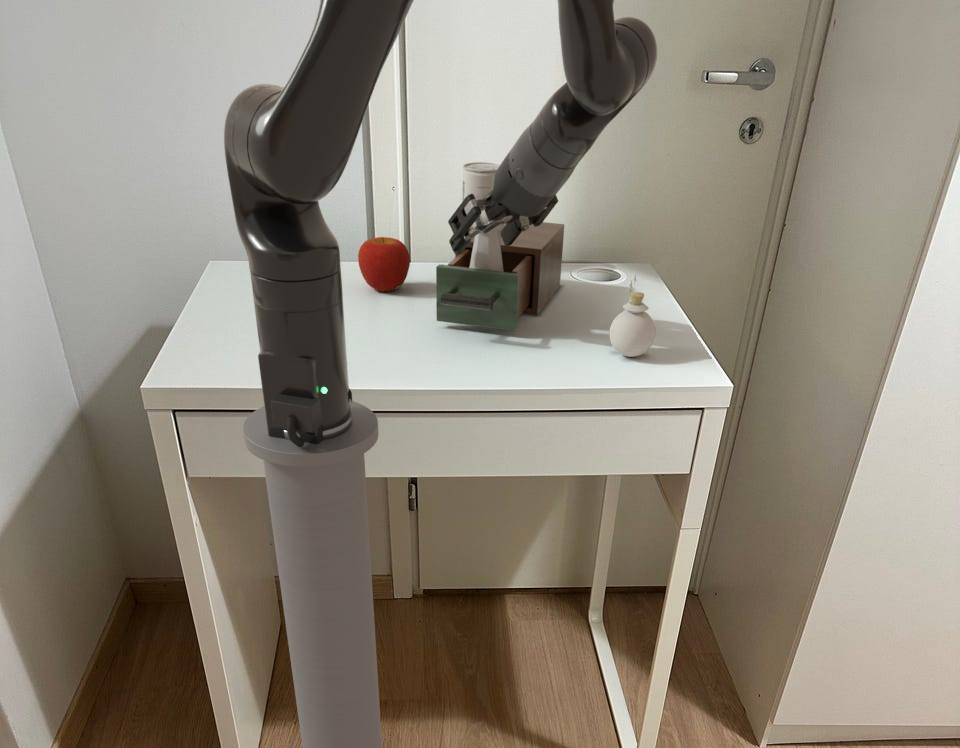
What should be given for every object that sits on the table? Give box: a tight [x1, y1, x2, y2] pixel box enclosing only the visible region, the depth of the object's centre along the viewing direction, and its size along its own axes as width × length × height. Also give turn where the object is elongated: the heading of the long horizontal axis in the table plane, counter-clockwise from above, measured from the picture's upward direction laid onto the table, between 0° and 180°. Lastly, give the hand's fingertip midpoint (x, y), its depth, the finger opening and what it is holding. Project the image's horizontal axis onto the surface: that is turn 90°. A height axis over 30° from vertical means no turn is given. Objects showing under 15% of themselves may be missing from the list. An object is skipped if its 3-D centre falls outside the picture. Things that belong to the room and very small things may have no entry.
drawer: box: [435, 248, 535, 332], centre depth 128 cm, size 18×12×7 cm, turn 163°
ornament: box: [609, 274, 657, 358], centre depth 120 cm, size 6×7×10 cm
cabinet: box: [454, 221, 565, 316], centre depth 138 cm, size 15×13×9 cm
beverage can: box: [460, 161, 501, 228], centre depth 149 cm, size 7×7×15 cm
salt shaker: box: [469, 210, 504, 272], centre depth 126 cm, size 6×6×13 cm
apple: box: [357, 236, 411, 293], centre depth 140 cm, size 8×8×8 cm
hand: (479, 244), depth 125 cm, fingers open, 8 cm apart
